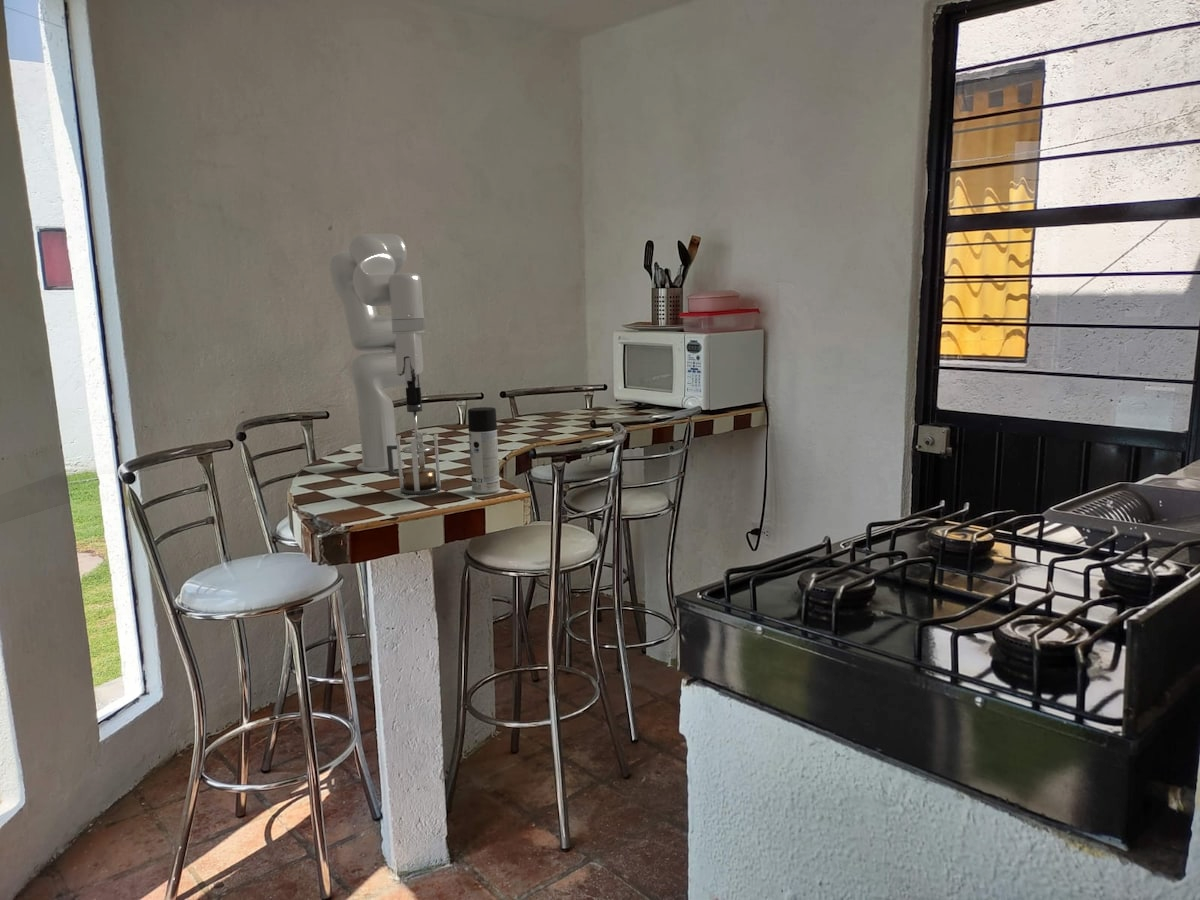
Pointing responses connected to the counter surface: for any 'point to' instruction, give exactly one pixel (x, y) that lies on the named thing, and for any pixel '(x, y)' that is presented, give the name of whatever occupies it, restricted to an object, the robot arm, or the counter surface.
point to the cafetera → (415, 469)
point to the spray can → (483, 450)
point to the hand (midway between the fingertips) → (414, 404)
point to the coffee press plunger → (416, 431)
